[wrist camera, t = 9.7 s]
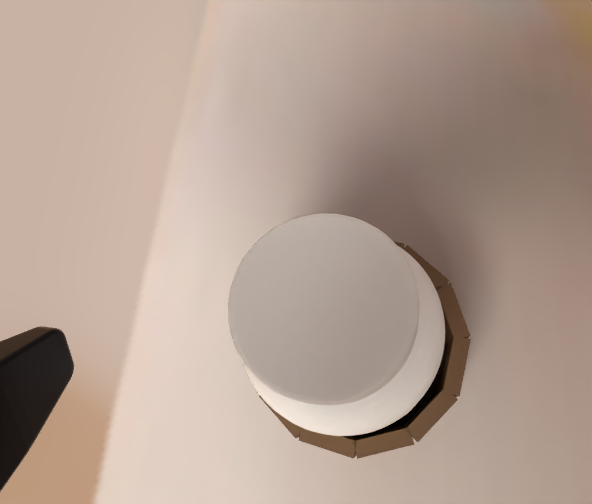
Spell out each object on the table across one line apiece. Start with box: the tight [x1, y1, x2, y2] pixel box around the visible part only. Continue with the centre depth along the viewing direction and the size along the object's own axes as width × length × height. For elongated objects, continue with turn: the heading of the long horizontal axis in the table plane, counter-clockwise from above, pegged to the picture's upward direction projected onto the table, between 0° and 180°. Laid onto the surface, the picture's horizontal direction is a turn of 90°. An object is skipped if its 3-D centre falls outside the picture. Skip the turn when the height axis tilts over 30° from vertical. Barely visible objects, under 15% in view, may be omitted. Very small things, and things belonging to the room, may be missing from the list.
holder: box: [257, 242, 470, 458], centre depth 18 cm, size 7×7×3 cm
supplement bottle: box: [228, 213, 445, 436], centre depth 14 cm, size 5×5×10 cm
